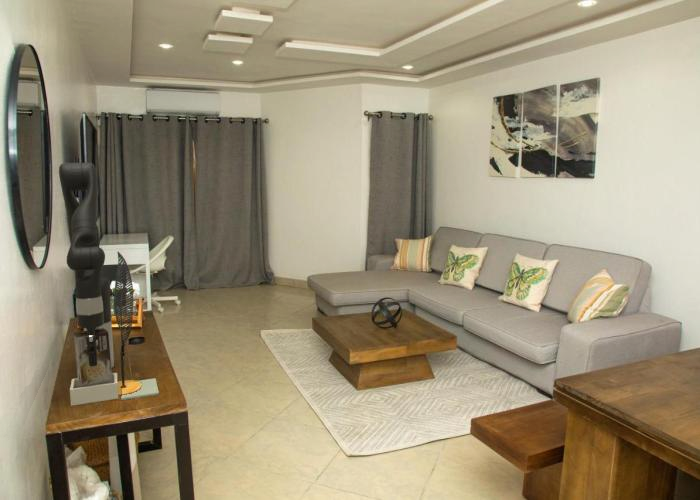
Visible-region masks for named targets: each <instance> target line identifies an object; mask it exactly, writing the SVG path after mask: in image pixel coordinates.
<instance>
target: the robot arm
mask: <svg viewBox="0 0 700 500" xmlns="http://www.w3.org/2000/svg"><path fill="white" fill-rule="evenodd" d="M58 175H59V182H60V188H61V191H62V192H61V193H62V196H63V201H64V206H65V210H66V219H67V228H68V237H69V238H68V239H69V243H70V245H69V249H68V251H67V254H66V255H67V256H66V265H67V267H68V268H69V269H70V270H71V271H74V279H75V280H74V283H75V297H76V298H75V300H76V301H75V309H76V310H75V311H76V323H77V327H78V328H80V329H83V331H85V332H87V333H84V335H86V334H87V336H86V339H87V345H86V347H87V354H88V355H89V366H96V365H97V346H98V340H96V336H95V333H98V332H95V331H98V330H96V329H101V328H104V329H106V330H107V331H108V334H109V345H110V357H111V368H114V367H115V360H114V345H113V344H114V342H113V341H114V340H113V328H112V327H113V326H112V310H111V306H112V305H111V283H110V281H109V279H108V278H106V277H102V273H103V268H104V266H105V265H104V264H105V260H106V253H105V250H104V249H103V248H102V247H100V244H101V241H100V233H99V225H97V221H96V218H97V217H96V216H97V213H96V212H97V203H98V173H97V169H96V166H95V164H94V163H92V162H63V163H61V164H60V165H59V167H58ZM74 191H75V192H78V191H79V192H80V191H86V193H85V196H84V198H83V199H82V201H81V202H80V203H79V201H78V199H77V198H76V195H75V192H74ZM91 270H92V273H91V274H89V275H87V271H91ZM90 347H94V349H95V350H90V349H89V348H90Z"/></svg>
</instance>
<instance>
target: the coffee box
mask: <svg viewBox="0 0 700 500" xmlns="http://www.w3.org/2000/svg"><path fill="white" fill-rule="evenodd" d="M96 330H98V331H95V332H98V333H95V336H96V340H98V346H97V365H96V366H89V355H88V354H87V347H86V345H87V339H86V336H87V334H86V335H84V333H87V332H85V331H84V330H83V331H78V332H77V331H76V332H73V340H74V350H75V361H76V362H75V363H76V373H77V378H78V382H79V383H80V385H81V387H85V386H89V385H94V384H98V383H103V382H107V381H112V373H113V372H112V368H113V367H112V368H111V357H110V345H109V334H108V331H107V330H106V329H104V328H101V329H96ZM89 349H90V350H95V349H94V347H90V348H89Z"/></svg>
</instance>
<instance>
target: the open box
mask: <svg viewBox="0 0 700 500" xmlns="http://www.w3.org/2000/svg"><path fill="white" fill-rule="evenodd" d="M70 383H71V384H70V388H69V396H70V397H69V398H70V407H72V406H73V407H74V406H78V405H84V404H85V405H86V404H91V403H98V402H103V401H112V400H116V399H117V400H119V386H118V385H119V384H118V383H119V382H118V372H112V381H107V382H103V383H98V384H94V385H89V386H85V387H81V385H80V383H79V382H78V377H77V378H72V379H71V382H70Z"/></svg>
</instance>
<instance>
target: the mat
mask: <svg viewBox="0 0 700 500" xmlns="http://www.w3.org/2000/svg"><path fill="white" fill-rule="evenodd" d="M137 381H138V382H141V383H142V387H141V389H140V390H138V391H137V392H134V393H132V394H127V395H122V396H121V395H120V396H121V397H120V398H121V401H126V400H130V399H138V398H139V399H140V398H144V397H149V396H157V395H159V394H160V391H159V388H158V384H157V379H156V377H155V378H148V379H142V380H137Z"/></svg>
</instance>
